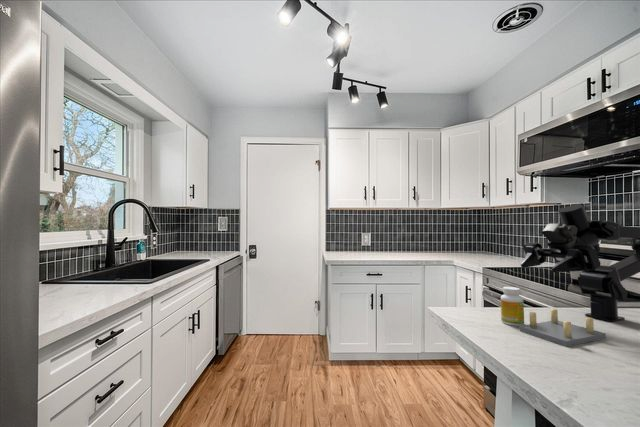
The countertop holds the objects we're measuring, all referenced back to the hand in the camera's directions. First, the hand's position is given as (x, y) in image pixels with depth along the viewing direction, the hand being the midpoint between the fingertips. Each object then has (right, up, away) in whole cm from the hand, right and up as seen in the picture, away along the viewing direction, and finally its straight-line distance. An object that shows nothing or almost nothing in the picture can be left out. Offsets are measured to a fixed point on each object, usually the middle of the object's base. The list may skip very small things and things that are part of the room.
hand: (536, 268), depth 83 cm
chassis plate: (0, -15, -8) cm, 17 cm away
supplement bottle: (-6, -16, +1) cm, 17 cm away
